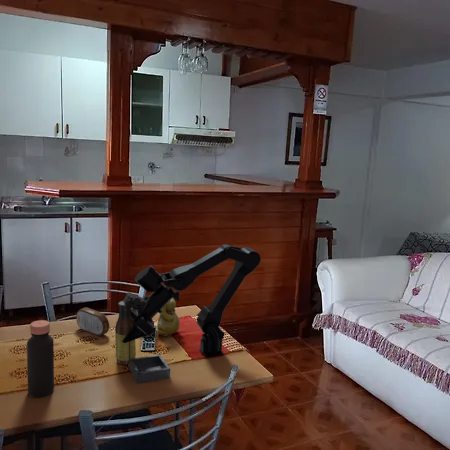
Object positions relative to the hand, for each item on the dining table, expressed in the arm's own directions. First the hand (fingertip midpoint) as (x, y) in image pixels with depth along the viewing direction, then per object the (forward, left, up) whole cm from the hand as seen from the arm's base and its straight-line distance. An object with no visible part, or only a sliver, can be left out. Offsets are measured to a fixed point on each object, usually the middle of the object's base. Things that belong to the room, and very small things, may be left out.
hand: (121, 336), depth 148 cm
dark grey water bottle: (+25, +10, -9) cm, 28 cm away
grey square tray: (-6, +10, -9) cm, 15 cm away
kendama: (-15, -27, -9) cm, 32 cm away
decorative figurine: (-22, -17, -9) cm, 29 cm away
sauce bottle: (-1, 0, -9) cm, 9 cm away
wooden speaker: (+5, -26, -9) cm, 28 cm away
